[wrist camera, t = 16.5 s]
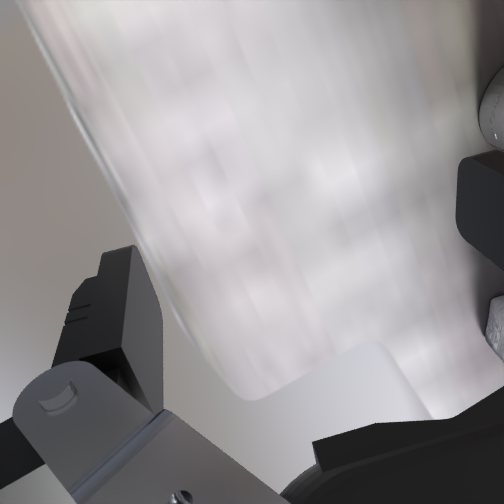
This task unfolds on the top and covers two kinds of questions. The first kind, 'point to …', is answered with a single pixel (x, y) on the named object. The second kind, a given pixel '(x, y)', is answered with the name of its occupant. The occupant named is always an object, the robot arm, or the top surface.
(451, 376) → the top surface
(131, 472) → the robot arm
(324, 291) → the top surface
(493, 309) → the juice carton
